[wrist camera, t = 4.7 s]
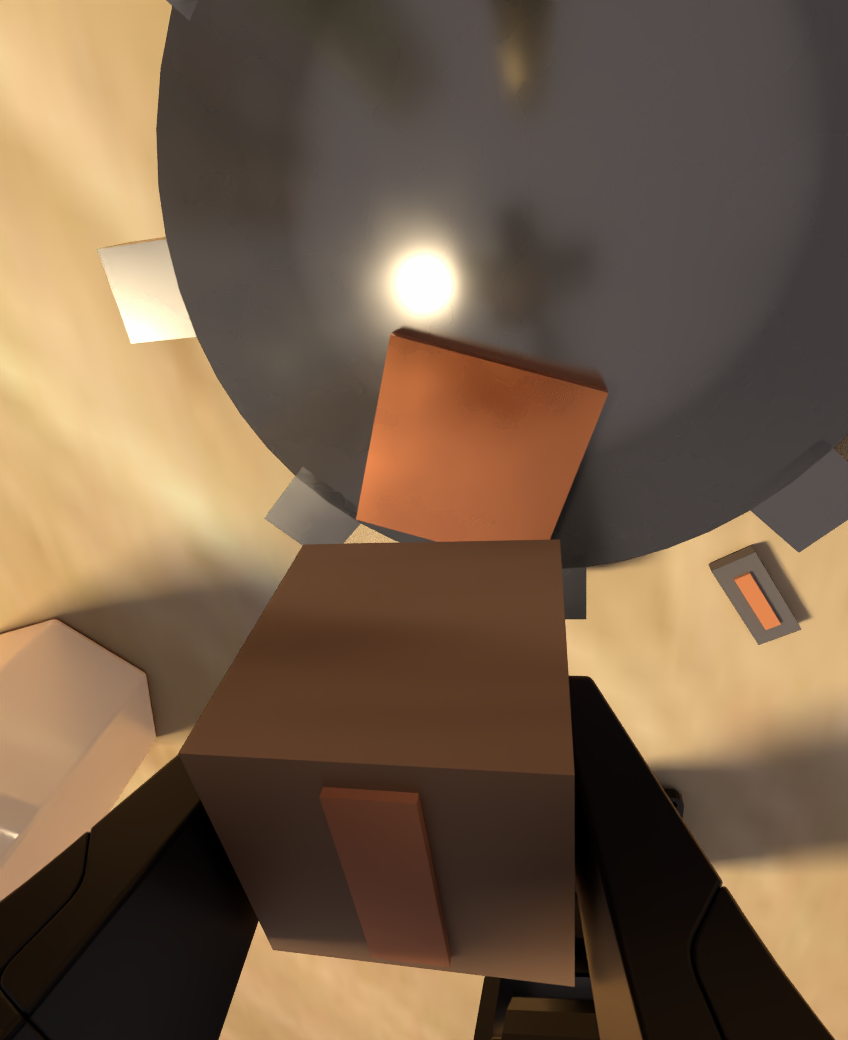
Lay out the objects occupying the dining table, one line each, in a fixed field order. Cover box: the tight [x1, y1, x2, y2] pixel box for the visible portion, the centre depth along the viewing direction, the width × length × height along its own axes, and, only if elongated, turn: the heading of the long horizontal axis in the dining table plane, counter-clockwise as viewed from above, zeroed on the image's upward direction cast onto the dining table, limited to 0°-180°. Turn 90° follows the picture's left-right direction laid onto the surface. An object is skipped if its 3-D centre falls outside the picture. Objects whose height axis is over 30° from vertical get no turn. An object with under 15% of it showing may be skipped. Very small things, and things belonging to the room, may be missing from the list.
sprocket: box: [97, 0, 848, 619], centre depth 12 cm, size 22×22×6 cm
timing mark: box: [709, 545, 801, 645], centre depth 20 cm, size 4×1×1 cm, turn 38°
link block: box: [178, 539, 575, 987], centre depth 9 cm, size 4×4×4 cm
